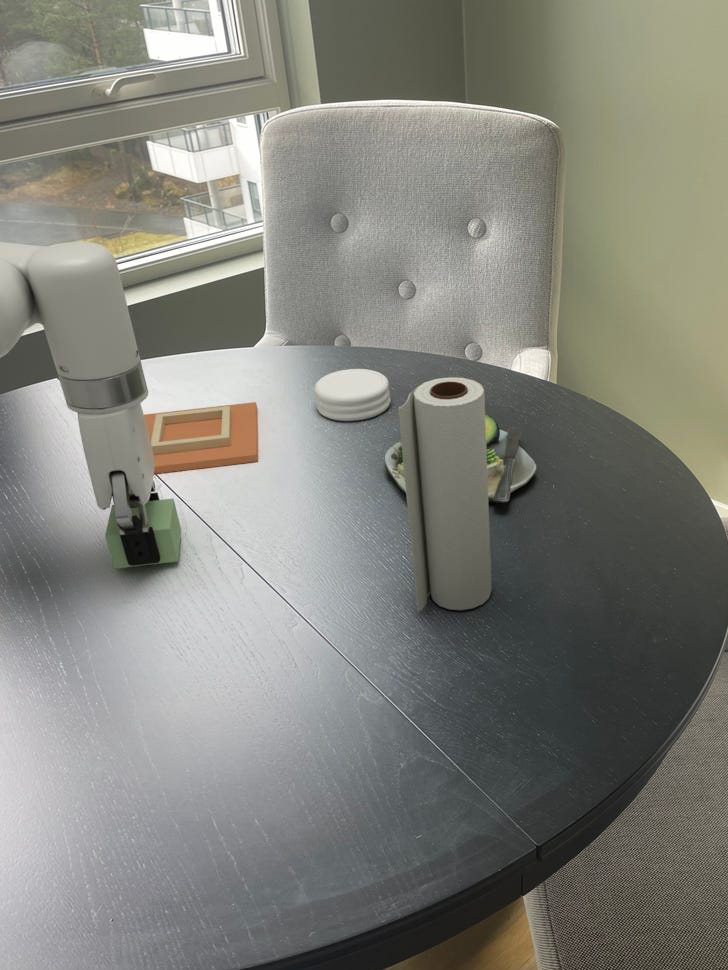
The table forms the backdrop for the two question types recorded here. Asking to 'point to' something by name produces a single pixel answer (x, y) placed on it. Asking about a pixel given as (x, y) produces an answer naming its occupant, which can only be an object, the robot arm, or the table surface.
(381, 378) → the coaster
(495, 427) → the salad plate
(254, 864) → the table surface
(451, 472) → the paper towel roll
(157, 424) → the base mat
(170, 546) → the green block
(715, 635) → the table surface
